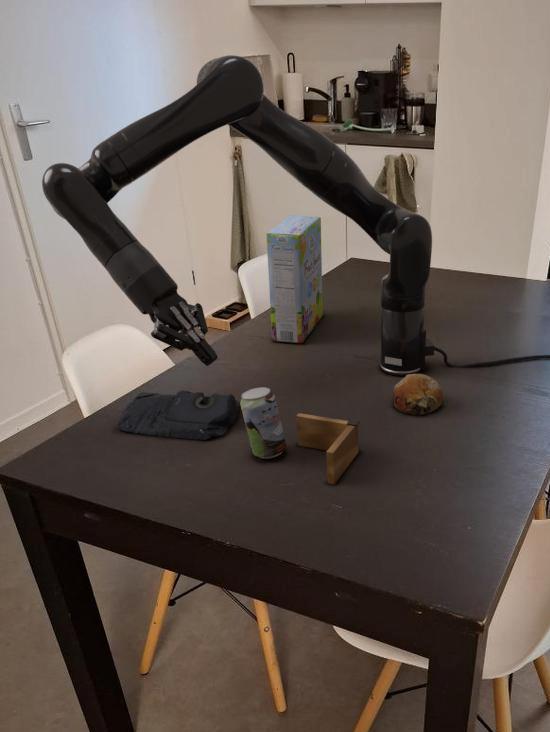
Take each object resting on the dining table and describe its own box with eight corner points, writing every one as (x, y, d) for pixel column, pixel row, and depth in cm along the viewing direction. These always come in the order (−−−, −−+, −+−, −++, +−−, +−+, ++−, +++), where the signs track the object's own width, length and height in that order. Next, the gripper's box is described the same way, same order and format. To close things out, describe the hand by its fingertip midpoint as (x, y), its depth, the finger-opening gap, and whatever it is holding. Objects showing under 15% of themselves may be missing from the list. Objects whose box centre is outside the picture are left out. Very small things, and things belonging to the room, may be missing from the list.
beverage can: (281, 464, 119) (275, 401, 113) (240, 460, 120) (233, 397, 114) (291, 446, 124) (286, 385, 118) (252, 443, 126) (246, 382, 119)
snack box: (306, 345, 167) (300, 234, 153) (271, 343, 168) (262, 233, 154) (325, 315, 185) (321, 214, 171) (294, 314, 186) (287, 213, 172)
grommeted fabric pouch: (145, 398, 142) (141, 376, 140) (247, 406, 139) (244, 384, 136) (108, 432, 130) (103, 409, 127) (219, 442, 126) (216, 419, 124)
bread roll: (444, 417, 141) (449, 378, 140) (433, 417, 132) (440, 375, 131) (397, 410, 144) (403, 372, 143) (384, 410, 134) (390, 369, 133)
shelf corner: (273, 472, 117) (270, 440, 114) (301, 441, 126) (299, 410, 123) (336, 484, 113) (334, 451, 110) (360, 452, 123) (360, 420, 119)
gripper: (128, 275, 105) (205, 364, 109) (176, 254, 116) (245, 336, 119) (104, 303, 110) (179, 388, 113) (153, 280, 120) (219, 359, 124)
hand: (212, 361), depth 116 cm, fingers closed
